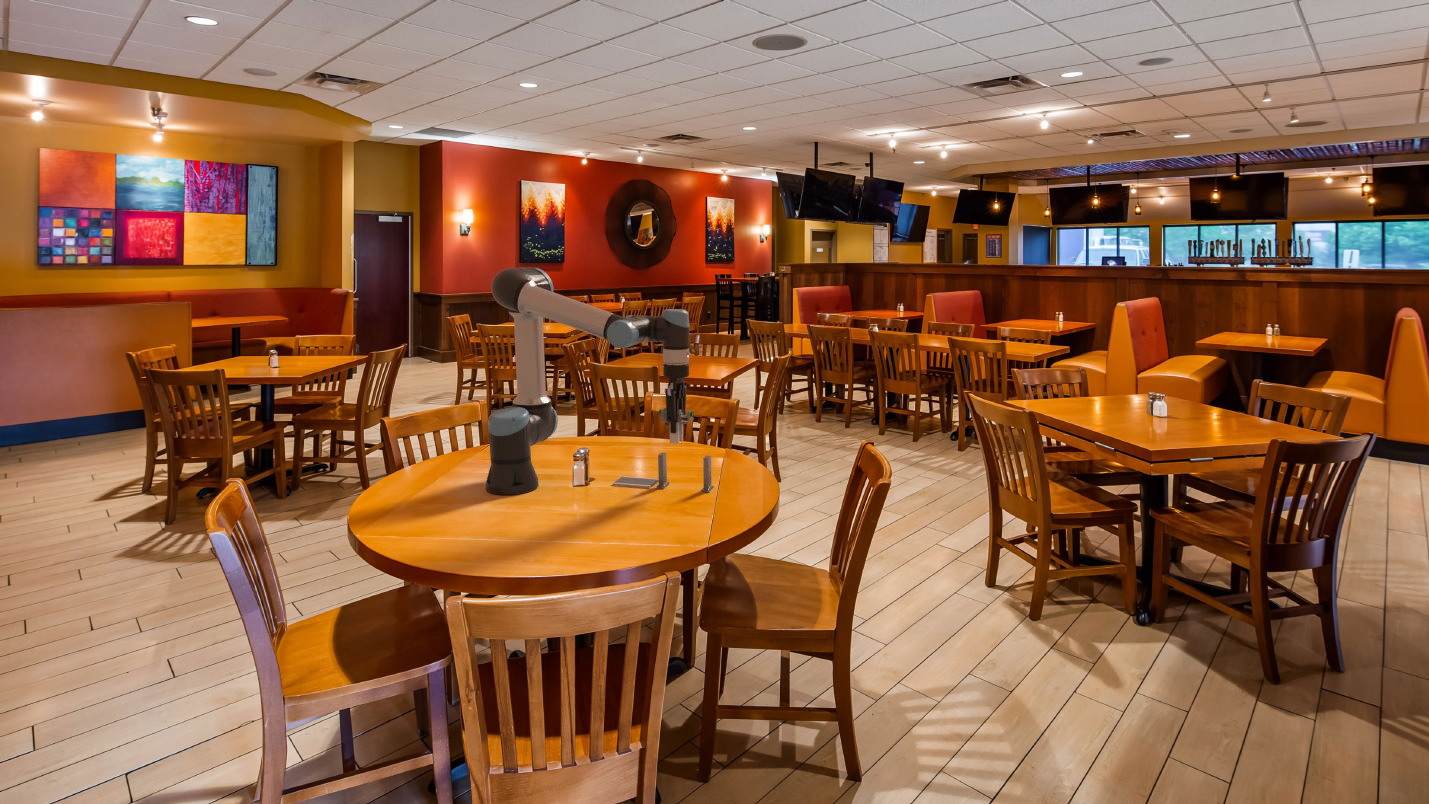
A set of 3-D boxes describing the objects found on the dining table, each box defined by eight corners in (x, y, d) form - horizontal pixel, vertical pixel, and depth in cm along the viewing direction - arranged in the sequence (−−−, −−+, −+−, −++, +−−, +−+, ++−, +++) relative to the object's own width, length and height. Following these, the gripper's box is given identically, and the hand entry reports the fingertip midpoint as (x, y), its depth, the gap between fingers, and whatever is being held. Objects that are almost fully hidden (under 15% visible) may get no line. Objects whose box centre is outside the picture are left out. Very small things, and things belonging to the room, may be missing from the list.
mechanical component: (691, 445, 226) (691, 411, 225) (658, 442, 229) (658, 409, 227) (694, 442, 229) (694, 409, 227) (661, 440, 232) (661, 407, 230)
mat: (612, 485, 234) (612, 483, 234) (622, 478, 242) (622, 476, 242) (649, 488, 231) (649, 486, 231) (659, 480, 238) (659, 478, 238)
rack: (656, 488, 231) (655, 455, 229) (661, 483, 236) (661, 451, 234) (709, 492, 226) (708, 459, 224) (713, 487, 231) (713, 455, 229)
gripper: (679, 367, 216) (679, 449, 221) (696, 360, 231) (696, 436, 236) (654, 366, 218) (655, 447, 223) (672, 359, 233) (673, 435, 238)
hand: (676, 441), depth 229 cm, fingers closed on mechanical component, 3 cm apart
